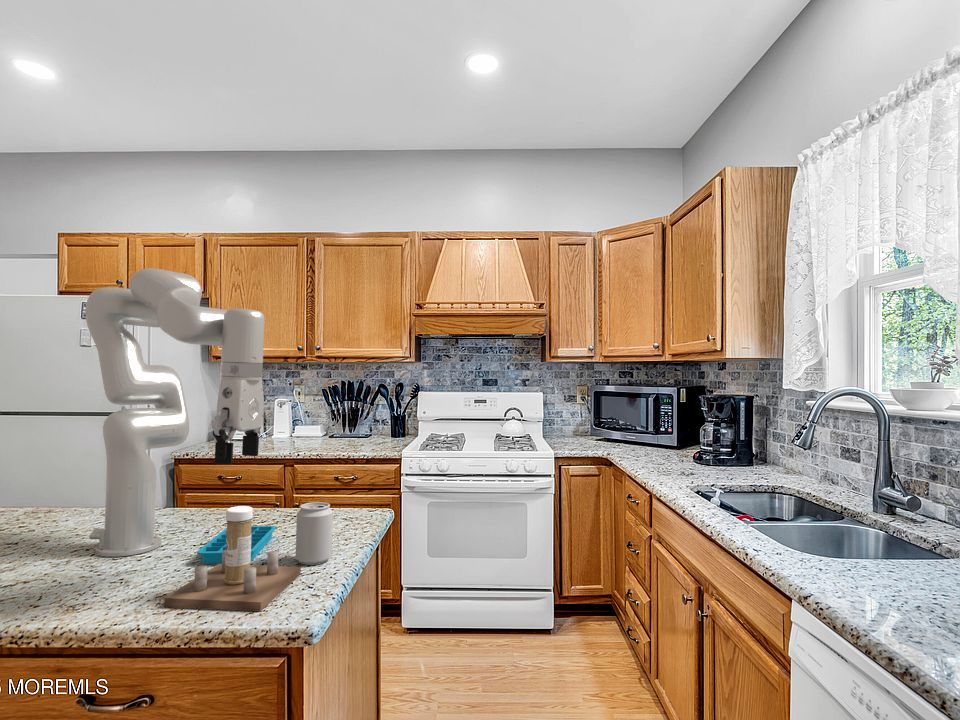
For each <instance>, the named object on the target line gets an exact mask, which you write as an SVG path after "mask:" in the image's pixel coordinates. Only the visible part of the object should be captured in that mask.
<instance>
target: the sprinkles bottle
mask: <svg viewBox="0 0 960 720" xmlns="http://www.w3.org/2000/svg"><path fill="white" fill-rule="evenodd" d="M253 513H254V509H253V507H251V506H248V505H238V506H232V507H229V508H227V509H226V512H225V520H226V528H227V537H226V555H225V578H224V582H225V583H226V584H230V585H236V584H241V583H244V569H245V568H248V567H250V565H251V562H252V561H251V526H252V522H253V521H252V520H253V517H254V516H253ZM250 561H251V562H250Z"/></svg>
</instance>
